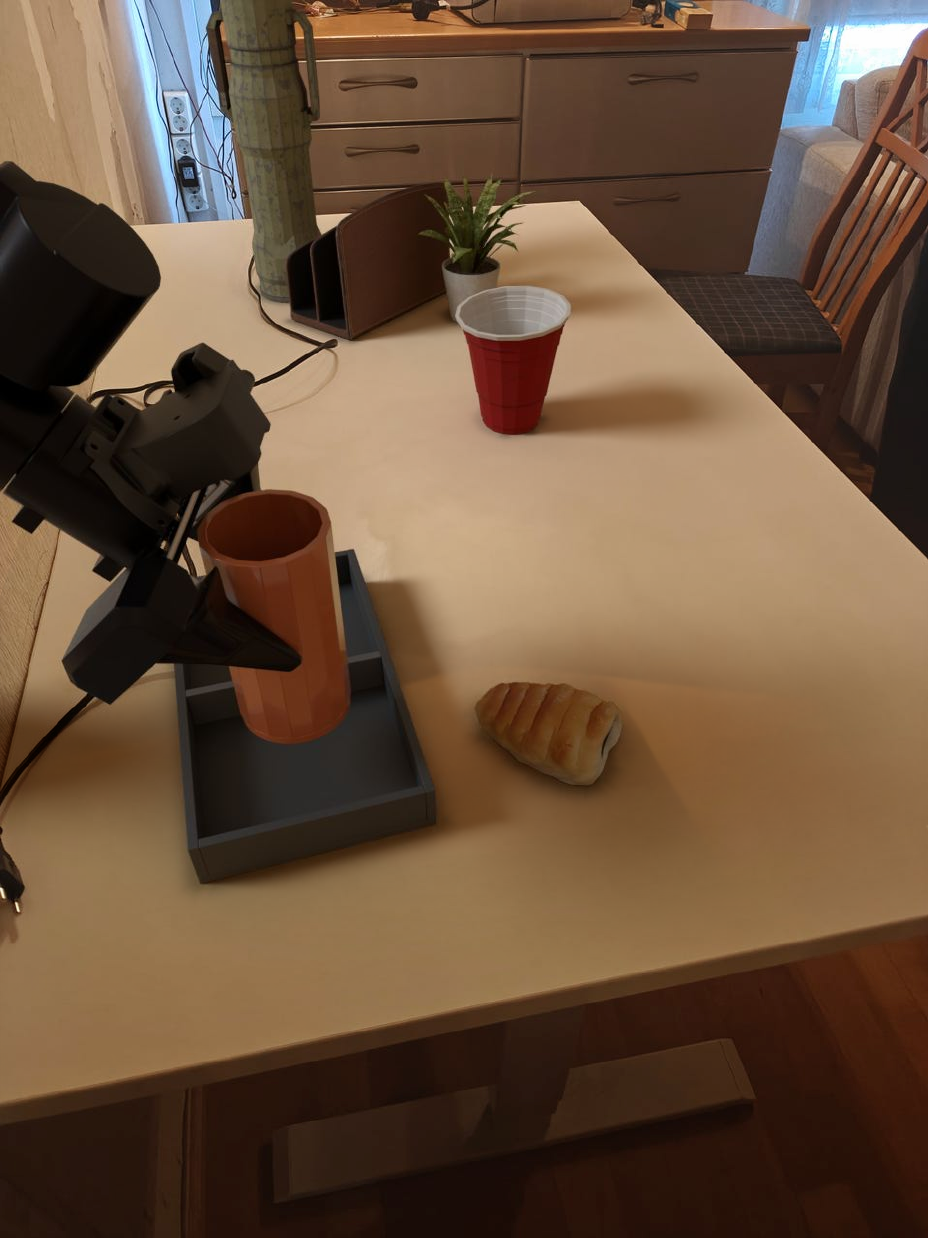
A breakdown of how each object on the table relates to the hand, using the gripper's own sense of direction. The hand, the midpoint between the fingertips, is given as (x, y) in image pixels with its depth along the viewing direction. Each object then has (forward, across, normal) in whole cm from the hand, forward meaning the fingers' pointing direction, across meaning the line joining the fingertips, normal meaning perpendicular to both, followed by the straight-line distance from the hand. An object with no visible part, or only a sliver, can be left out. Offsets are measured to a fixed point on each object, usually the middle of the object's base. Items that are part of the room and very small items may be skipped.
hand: (306, 621), depth 48 cm
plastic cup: (+18, +44, 0) cm, 48 cm away
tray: (+7, +5, +11) cm, 14 cm away
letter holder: (+7, +74, +11) cm, 75 cm away
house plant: (+16, +69, +2) cm, 71 cm away
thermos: (-1, +79, +19) cm, 81 cm away
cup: (+4, 0, +6) cm, 7 cm away
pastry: (+19, +2, -1) cm, 19 cm away
